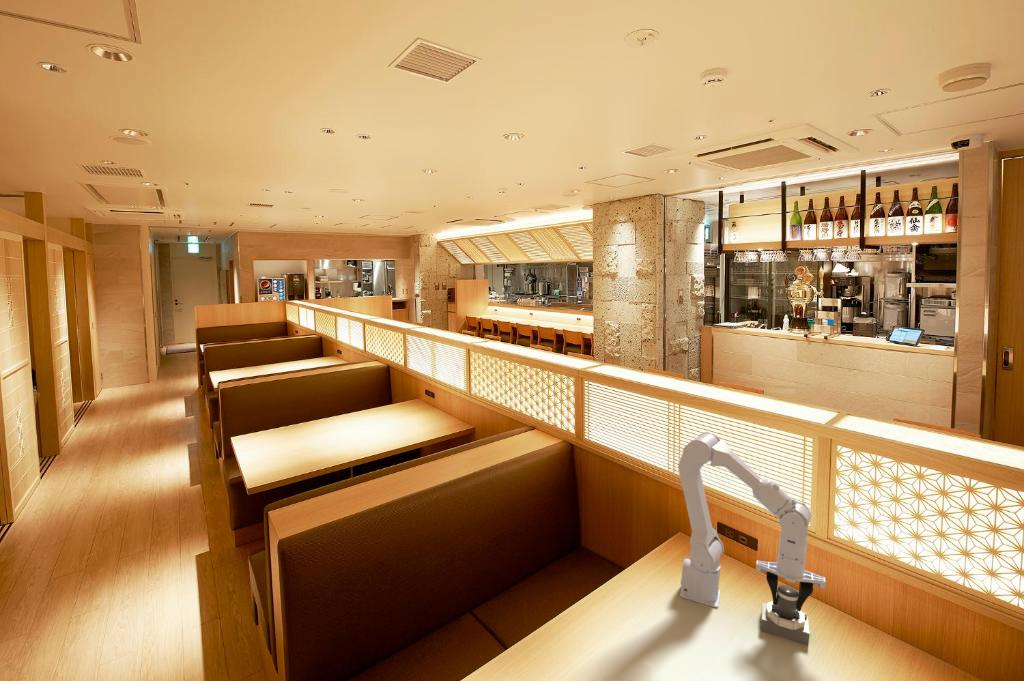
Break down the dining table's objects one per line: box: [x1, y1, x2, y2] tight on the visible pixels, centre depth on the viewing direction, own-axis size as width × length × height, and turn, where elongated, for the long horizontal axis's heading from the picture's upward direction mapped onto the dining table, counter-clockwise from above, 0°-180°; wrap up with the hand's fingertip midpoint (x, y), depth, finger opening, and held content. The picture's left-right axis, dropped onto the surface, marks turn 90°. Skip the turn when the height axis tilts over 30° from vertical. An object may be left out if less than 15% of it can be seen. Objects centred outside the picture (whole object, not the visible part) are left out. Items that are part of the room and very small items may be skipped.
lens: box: [775, 584, 799, 620], centre depth 120 cm, size 5×5×6 cm
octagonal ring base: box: [760, 600, 810, 646], centre depth 121 cm, size 10×8×4 cm
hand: (786, 605), depth 120 cm, fingers closed on lens, 4 cm apart
